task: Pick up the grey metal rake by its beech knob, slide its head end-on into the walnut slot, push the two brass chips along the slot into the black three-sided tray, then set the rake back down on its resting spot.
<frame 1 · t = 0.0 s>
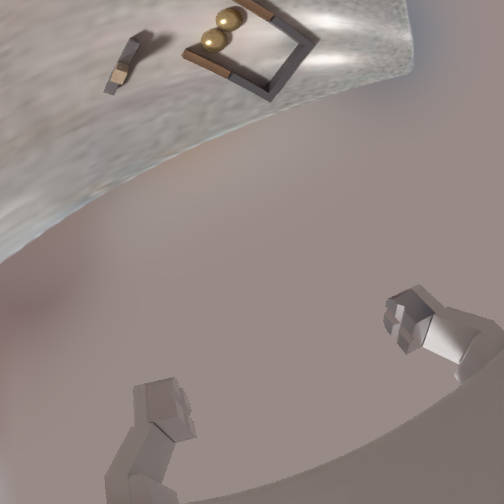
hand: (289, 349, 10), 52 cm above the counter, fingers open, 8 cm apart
walnut slot rails: (225, 32, 43), on the counter
brass chip 1: (227, 19, 41), on the counter
black tray: (266, 56, 49), on the counter
brass chip 2: (212, 40, 44), on the counter
rake: (121, 64, 41), on the counter
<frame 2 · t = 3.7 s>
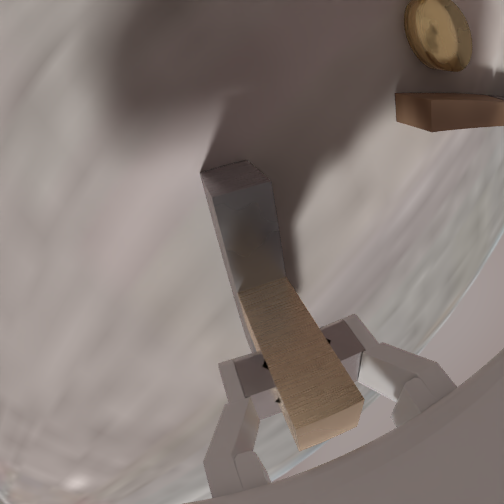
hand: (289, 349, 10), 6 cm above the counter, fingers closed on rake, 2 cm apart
brass chip 2: (429, 32, 11), on the counter
rake: (246, 264, 15), on the counter, touching gripper
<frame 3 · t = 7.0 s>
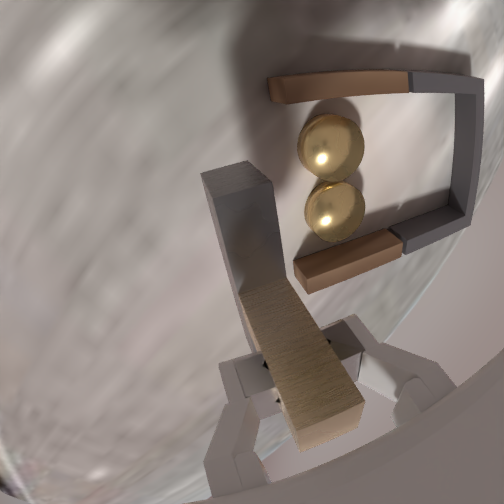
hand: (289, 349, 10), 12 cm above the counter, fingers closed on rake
walnut slot rails: (341, 174, 21), on the counter
brass chip 1: (324, 144, 20), on the counter
black tray: (428, 154, 22), on the counter
brass chip 2: (329, 205, 22), on the counter
rake: (246, 264, 15), point 6 cm above the counter, touching gripper
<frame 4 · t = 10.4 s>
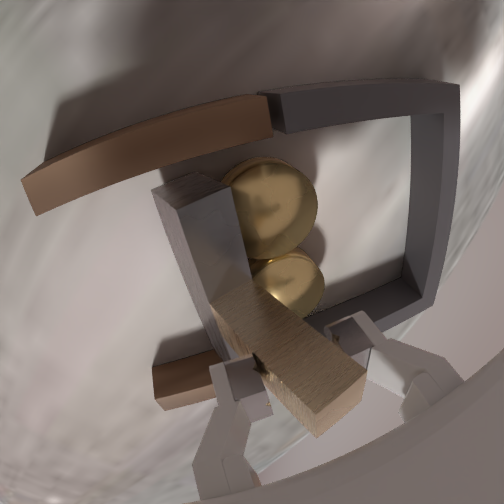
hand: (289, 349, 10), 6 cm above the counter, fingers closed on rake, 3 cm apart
walnut slot rails: (188, 272, 15), on the counter
brass chip 1: (260, 201, 14), on the counter, touching rake
black tray: (357, 218, 16), on the counter
brass chip 2: (275, 279, 17), on the counter, touching rake
rake: (204, 276, 15), on the counter, tilted 17°, touching brass chip 1, brass chip 2, gripper
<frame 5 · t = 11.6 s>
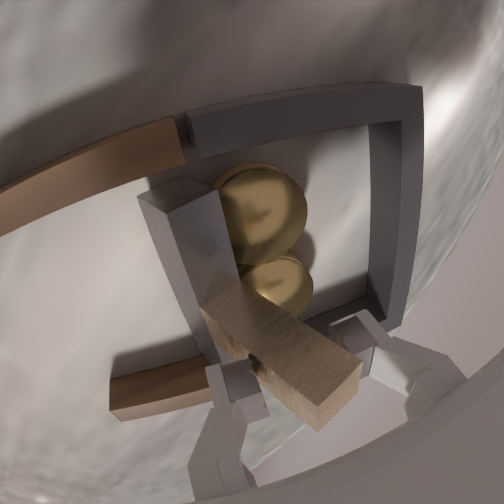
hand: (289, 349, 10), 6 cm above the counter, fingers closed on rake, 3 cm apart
walnut slot rails: (130, 293, 14), on the counter
brass chip 1: (249, 206, 14), on the counter
black tray: (308, 237, 16), on the counter
brass chip 2: (264, 281, 17), on the counter, touching rake
rake: (190, 281, 15), on the counter, tilted 23°, touching brass chip 2, gripper
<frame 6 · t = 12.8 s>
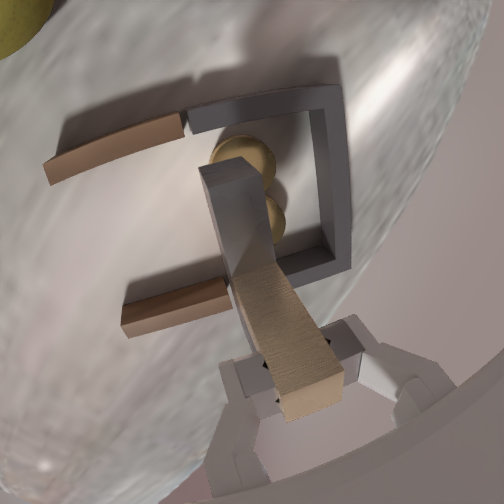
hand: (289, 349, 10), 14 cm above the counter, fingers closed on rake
walnut slot rails: (145, 229, 21), on the counter
brass chip 1: (239, 164, 21), on the counter
black tray: (268, 192, 23), on the counter
brass chip 2: (251, 218, 24), on the counter
apple: (24, 14, 11), on the counter
rake: (241, 253, 16), point 7 cm above the counter, touching gripper
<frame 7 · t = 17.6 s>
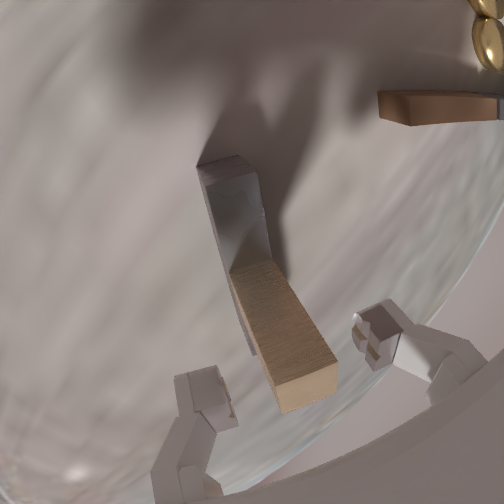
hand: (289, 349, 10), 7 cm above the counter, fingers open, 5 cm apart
walnut slot rails: (419, 1, 11), on the counter
brass chip 2: (484, 43, 13), on the counter
rake: (238, 250, 16), on the counter
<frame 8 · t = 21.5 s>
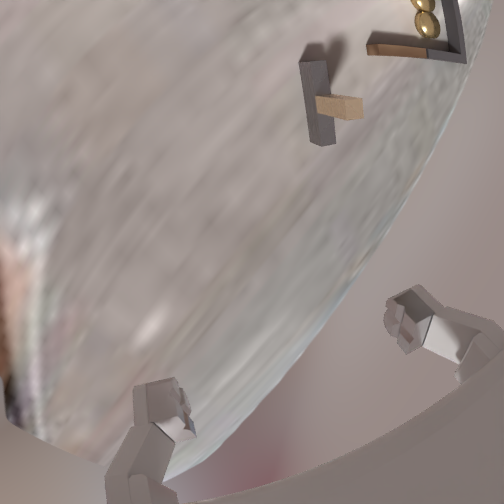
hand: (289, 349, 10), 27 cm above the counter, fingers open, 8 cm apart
walnut slot rails: (384, 7, 27), on the counter
black tray: (429, 16, 28), on the counter
brass chip 2: (423, 25, 29), on the counter
rake: (311, 101, 33), on the counter
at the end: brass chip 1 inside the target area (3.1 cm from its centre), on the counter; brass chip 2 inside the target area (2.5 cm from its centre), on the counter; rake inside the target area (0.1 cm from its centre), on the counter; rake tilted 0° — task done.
